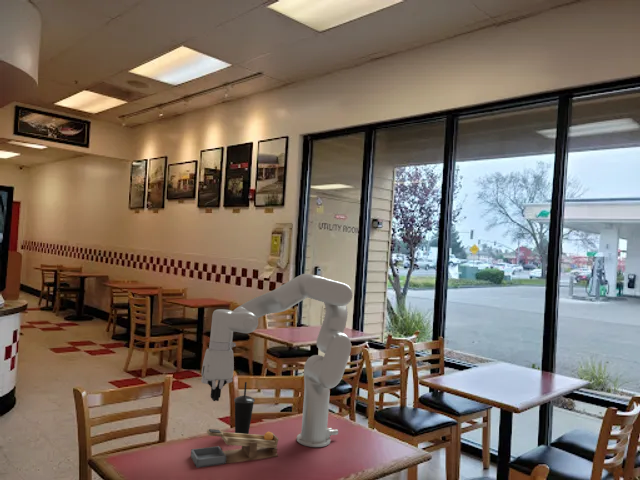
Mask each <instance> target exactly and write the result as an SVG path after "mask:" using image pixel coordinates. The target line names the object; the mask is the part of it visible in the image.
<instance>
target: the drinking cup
mask: <svg viewBox="0 0 640 480" xmlns="http://www.w3.org/2000/svg"><path fill="white" fill-rule="evenodd" d="M247 385H248V383H247V381H245V382H244V387H243V388H244V390H243V395H239V396H237V397H235V398H234V399H233V401H234V433H242V434H250V426H251V423H252V414H253V409H254V404H255V401H256V400H255V398H254V397H252V396H250V395H247Z"/></svg>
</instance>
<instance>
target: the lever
mask: <svg viewBox="0 0 640 480" xmlns="http://www.w3.org/2000/svg"><path fill="white" fill-rule="evenodd" d="M270 432H271V431H270ZM271 433H272V434H273V439H272V440H265V439H264V435H265V434H254V433H253V434H251V433H249V434H242V433H235V432H229V431H228V432H225V431H223V430H220V429H214V428H209V429H207V430H206V434H207V435H208V436H209V437H221V439H222V440H223V442H224V443H225V444H226V445H227V446H239V447H240V446H241V447H242V446H250V442H257V447H268V448H277V447H278V442H279V437H278V436H277V435H275V433H273V432H271ZM277 449H278V448H277Z"/></svg>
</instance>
